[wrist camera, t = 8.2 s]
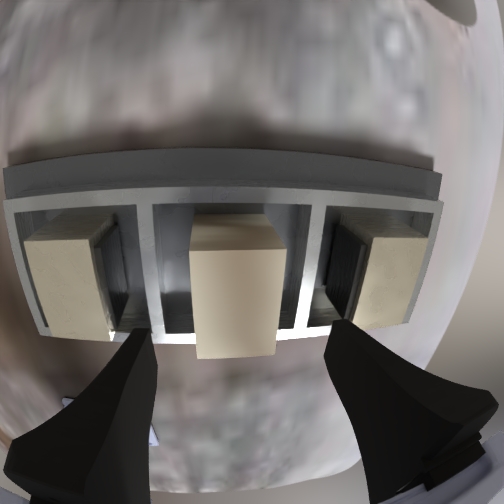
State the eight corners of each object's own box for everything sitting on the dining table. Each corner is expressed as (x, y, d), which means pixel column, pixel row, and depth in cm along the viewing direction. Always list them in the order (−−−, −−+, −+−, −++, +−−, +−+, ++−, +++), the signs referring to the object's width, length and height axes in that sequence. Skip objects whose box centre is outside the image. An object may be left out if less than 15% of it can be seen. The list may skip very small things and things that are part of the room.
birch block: (197, 304, 18) (197, 359, 14) (193, 214, 16) (189, 251, 11) (259, 302, 19) (274, 354, 15) (264, 213, 17) (286, 249, 12)
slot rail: (47, 327, 19) (24, 368, 14) (11, 165, 13) (-36, 183, 9) (396, 316, 23) (425, 351, 19) (433, 171, 18) (481, 188, 13)
